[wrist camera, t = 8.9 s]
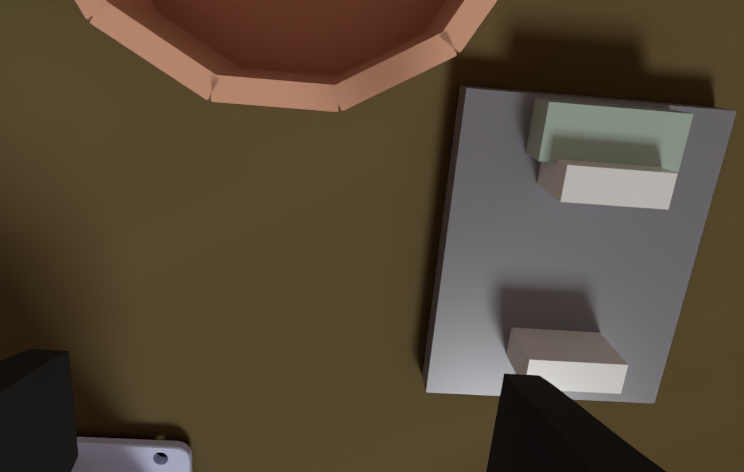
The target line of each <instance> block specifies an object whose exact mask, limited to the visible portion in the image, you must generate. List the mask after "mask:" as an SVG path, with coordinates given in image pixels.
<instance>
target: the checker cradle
mask: <svg viewBox="0 0 744 472" xmlns="http://www.w3.org/2000/svg"><path fill="white" fill-rule="evenodd" d="M736 112H737V111H734V110H728V109H723V108H718V107H708V106H696V105H684V104H673V103H661V102H649V101H638V100H626V99H614V98H603V97H591V96H579V95H567V94H556V93H544V92H532V91H521V90H509V89H497V88H486V87H474V86H462V85H460V89H459V96H458V104H457V112H456V119H455V127H454V135H453V143H452V150H451V158H450V166H449V173H448V181H447V189H446V197H445V204H444V212H443V220H442V227H441V235H440V243H439V251H438V258H437V266H436V274H435V281H434V289H433V297H432V305H431V312H430V320H429V328H428V335H427V343H426V351H425V359H424V366H423V374H422V377H423V381H424V386H425V390H426V392H431V393H451V394H472V395H492V396H500V394H501V388H502V383H503V377H504V374H522V375H539V376H541V377H542V378H544V379H545V380H547V381H548V382H550V383H551V384H552V385H554V386H555V387H557V388H558V389H559V390H560V391H562V392H563V393H564V394H566V395H567V396H568V397H569V398H571V399H574V400H594V401H615V402H635V403H655V399H656V396H657V392H658V389H659V385H660V382H661V378H662V375H663V371H664V367H665V364H666V360H667V357H668V353H669V350H670V346H671V343H672V339H673V335H674V332H675V328H676V325H677V321H678V318H679V314H680V311H681V307H682V304H683V300H684V296H685V293H686V289H687V286H688V282H689V279H690V275H691V272H692V268H693V264H694V261H695V257H696V254H697V250H698V247H699V243H700V240H701V236H702V233H703V229H704V225H705V222H706V218H707V215H708V211H709V208H710V204H711V201H712V197H713V193H714V190H715V186H716V183H717V179H718V176H719V172H720V169H721V165H722V161H723V158H724V154H725V151H726V147H727V144H728V140H729V137H730V133H731V130H732V126H733V122H734V119H735V115H736Z"/></svg>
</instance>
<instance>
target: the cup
mask: <svg viewBox="0 0 744 472" xmlns="http://www.w3.org/2000/svg"><path fill="white" fill-rule="evenodd" d="M75 1H76V3H77V5H78V6H79V8H80V10H81V11H82V13H83V15H84V16H85V18H86V19H91V21H90V23H91V24H92V25H94V26H95V27H97V28H98V29H100V30H101V31H103V32H104V33H106V34H107V35H109V36H110V37H112V38H113V39H115V40H116V41H118V42H120V43H121V44H123V45H124V46H126V47H127V48H129V49H130V50H132V51H133V52H135V53H136V54H138V55H139V56H141V57H142V58H144V59H145V60H147V61H148V62H150V63H151V64H153V65H154V66H156V67H157V68H159V69H160V70H162V71H164V72H165V73H167V74H168V75H170V76H171V77H173V78H174V79H176V80H177V81H179V82H180V83H182V84H183V85H185V86H186V87H188V88H189V89H191V90H192V91H194V92H195V93H197V94H198V95H200V96H201V97H203V98H205V99H206V100H209V99H211V102H221V103H234V104H246V105H258V106H271V107H283V108H295V109H308V110H320V111H332V112H338V107H339V106H340V108H341V110H342V111H344V110H346V109H348V108H350V107H352V106H354V105H356V104H358V103H360V102H362V101H364V100H366V99H368V98H370V97H372V96H374V95H377V94H379V93H381V92H383V91H385V90H387V89H389V88H391V87H393V86H395V85H397V84H399V83H401V82H403V81H405V80H407V79H410V78H412V77H414V76H416V75H418V74H420V73H422V72H424V71H426V70H428V69H430V68H432V67H434V66H436V65H438V64H440V63H443V62H445V61H447V60H449V59H451V58H453V57H455V56H457V54H456V52H461V51H462V50H463V48H464V47H465V45H466V44H467V42H468V41H469V40H470V38H471V37H472V35H473V34H474V33H475V31H476V30H477V28H478V27H479V25H480V24H481V23H482V21H483V20H484V18H485V17H486V16H487V14H488V13H489V11H490V10H491V8H492V7H493V6H494V4H495V3H496V1H497V0H75Z"/></svg>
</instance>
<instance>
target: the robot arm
mask: <svg viewBox="0 0 744 472" xmlns="http://www.w3.org/2000/svg"><path fill="white" fill-rule="evenodd" d="M159 452H161V453H164V454H166V455H167V457H161V456H159V455H158V454H157V453H159ZM0 472H192V452H191V448H190V447H189V446H188V445H187V444H185V443H184V442H180V441H167V440H143V439H120V438H96V437H77V435H76V425H75V414H74V403H73V392H72V382H71V371H70V360H69V351H57V350H37V349H29V350H26V351H24V352H21V353H18V354H16V355H13V356H11V357H9V358H6V359H4V360H2V361H0ZM486 472H666V471H665V470H663V469H662V468H660V467H659V466H658V465H656V464H655V463H654V462H652V461H651V460H649V459H648V458H647V457H645V456H644V455H643V454H641V453H640V452H639V451H637V450H636V449H635V448H633V447H632V446H631V445H629V444H628V443H627V442H625V441H624V440H623V439H622V438H620V437H619V436H618V435H616V434H615V433H614V432H613V431H611V430H610V429H609V428H607V427H606V426H605V425H604V424H602V423H601V422H600V421H599V420H597V419H596V418H595V417H593V416H592V415H591V414H590V413H588V412H587V411H586V410H585V409H583V408H582V407H581V406H580V405H578V404H577V403H576V402H575V401H573V400H572V399H571V398H569V397H568V396H567V395H566V394H564V393H563V392H562V391H560V390H559V389H558V388H557V387H555V386H554V385H552V384H551V383H550V382H548V381H547V380H545V379H544V378H542V377H541V376H539V375H522V374H504V377H503V383H502V388H501V394H500V399H499V405H498V410H497V416H496V421H495V427H494V432H493V438H492V443H491V449H490V454H489V460H488V465H487V471H486Z"/></svg>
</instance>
